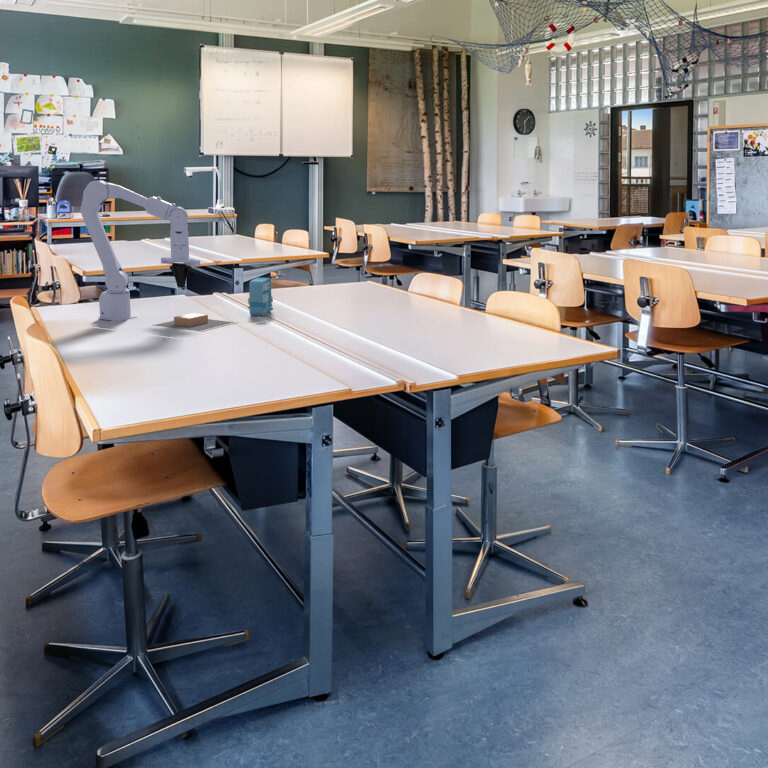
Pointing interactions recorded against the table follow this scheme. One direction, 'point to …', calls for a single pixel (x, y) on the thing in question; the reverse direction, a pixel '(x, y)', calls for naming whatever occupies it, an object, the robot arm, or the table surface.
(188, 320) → the card box
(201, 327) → the mat
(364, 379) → the table surface
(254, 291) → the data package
